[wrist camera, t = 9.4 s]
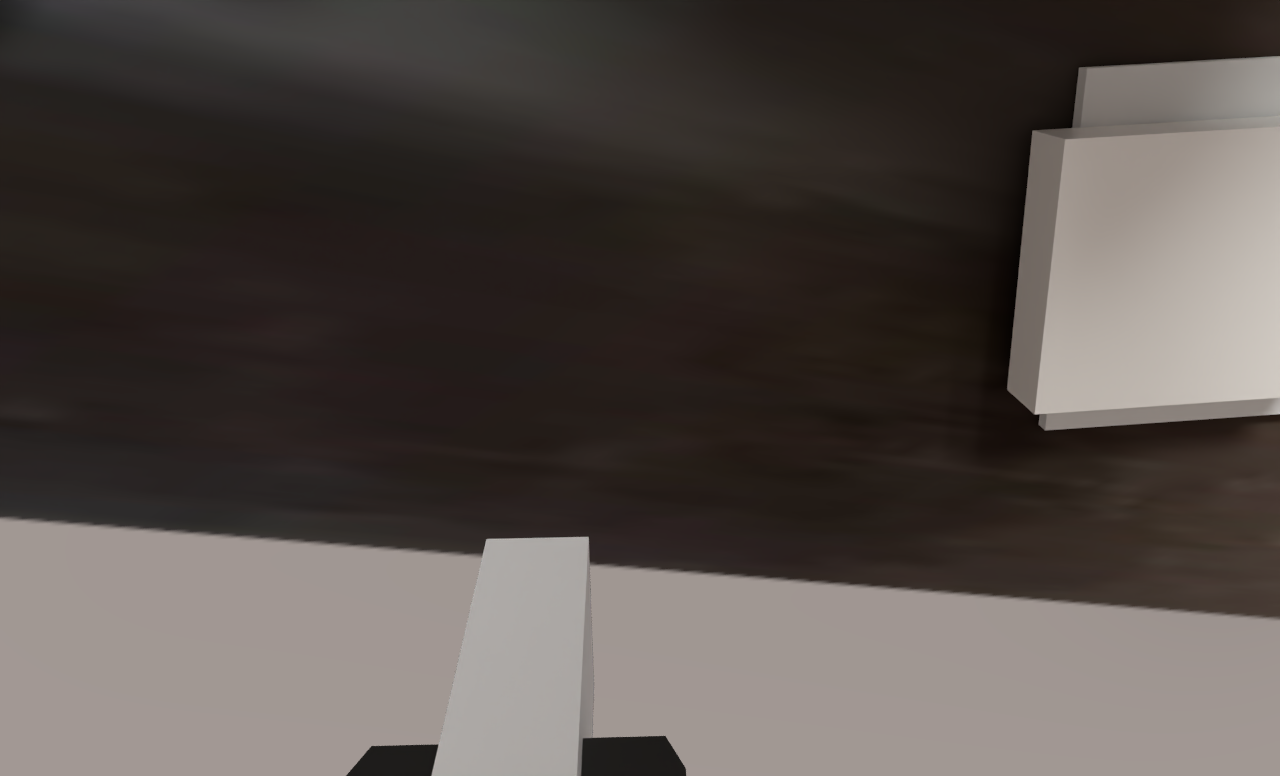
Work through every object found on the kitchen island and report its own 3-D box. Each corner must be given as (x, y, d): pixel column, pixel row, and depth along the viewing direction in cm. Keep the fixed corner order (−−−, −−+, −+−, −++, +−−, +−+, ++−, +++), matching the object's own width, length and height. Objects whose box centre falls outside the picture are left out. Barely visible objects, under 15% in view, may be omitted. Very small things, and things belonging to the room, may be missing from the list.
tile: (1034, 414, 36) (1348, 392, 36) (1064, 139, 32) (1414, 118, 32) (1004, 387, 38) (1298, 367, 39) (1030, 129, 35) (1355, 110, 35)
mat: (1038, 424, 40) (1044, 430, 39) (1078, 67, 34) (1086, 68, 34) (1415, 398, 40) (1427, 404, 40) (1511, 42, 35) (1526, 43, 34)
